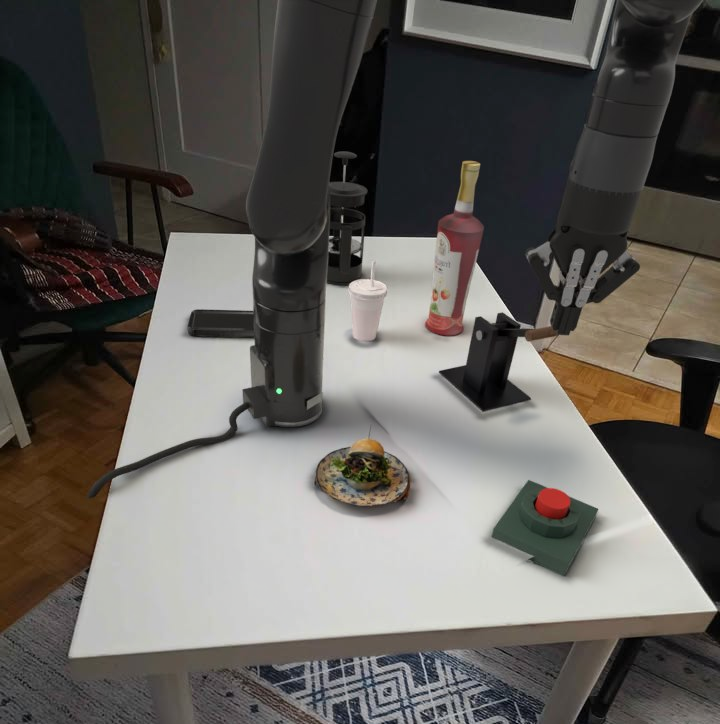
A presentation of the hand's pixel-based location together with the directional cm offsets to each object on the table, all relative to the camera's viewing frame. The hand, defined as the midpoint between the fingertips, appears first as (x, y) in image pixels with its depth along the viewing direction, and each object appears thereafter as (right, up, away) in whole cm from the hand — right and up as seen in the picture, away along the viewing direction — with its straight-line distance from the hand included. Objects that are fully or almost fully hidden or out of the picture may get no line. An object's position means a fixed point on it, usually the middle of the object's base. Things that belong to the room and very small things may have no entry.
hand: (560, 332), depth 77 cm
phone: (-46, +9, +34) cm, 58 cm away
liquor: (-9, +9, +38) cm, 40 cm away
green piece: (-2, -24, 0) cm, 24 cm away
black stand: (-5, -4, +24) cm, 24 cm away
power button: (-2, -21, -3) cm, 21 cm away
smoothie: (-23, +6, +34) cm, 41 cm away
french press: (-28, +24, +54) cm, 65 cm away
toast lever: (-2, +2, +14) cm, 14 cm away
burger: (-24, -18, +4) cm, 30 cm away
